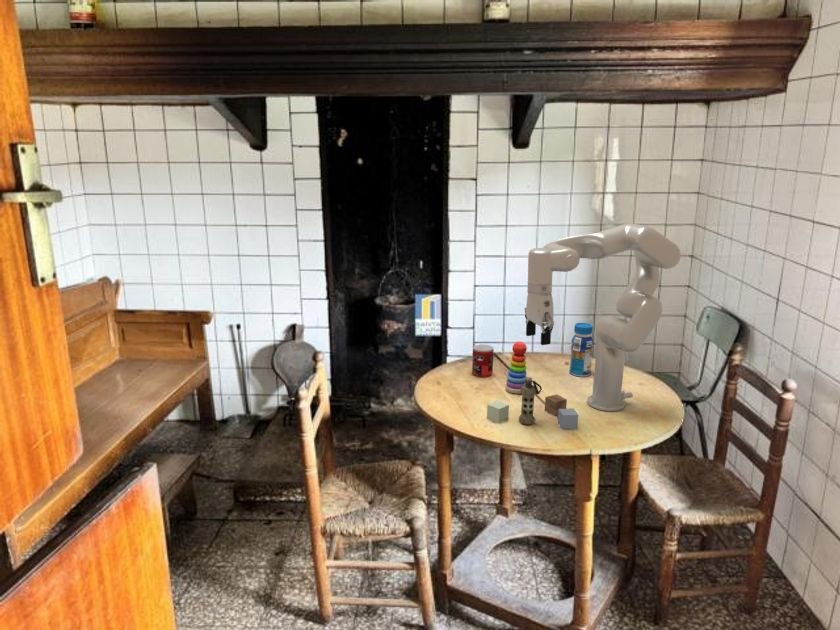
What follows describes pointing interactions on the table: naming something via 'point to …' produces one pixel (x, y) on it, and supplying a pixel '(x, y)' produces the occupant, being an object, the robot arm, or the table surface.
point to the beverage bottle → (581, 350)
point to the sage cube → (497, 411)
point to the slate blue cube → (567, 418)
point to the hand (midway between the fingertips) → (537, 339)
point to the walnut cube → (554, 404)
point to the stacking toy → (517, 369)
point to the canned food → (482, 360)
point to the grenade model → (528, 401)
